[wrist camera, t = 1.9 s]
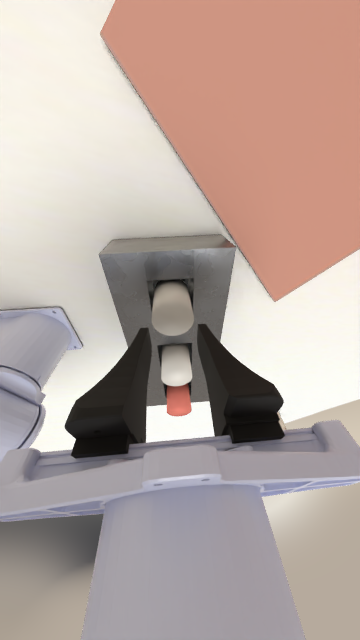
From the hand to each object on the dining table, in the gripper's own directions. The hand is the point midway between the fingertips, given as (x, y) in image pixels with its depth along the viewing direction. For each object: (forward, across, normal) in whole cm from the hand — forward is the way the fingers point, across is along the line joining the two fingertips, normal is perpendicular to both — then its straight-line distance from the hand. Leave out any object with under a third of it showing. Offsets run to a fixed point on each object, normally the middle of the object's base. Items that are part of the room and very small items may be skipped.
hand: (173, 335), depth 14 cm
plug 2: (+7, 0, +9) cm, 11 cm away
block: (+10, 0, +9) cm, 14 cm away
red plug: (+7, 0, +18) cm, 19 cm away
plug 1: (+7, 0, 0) cm, 7 cm away
